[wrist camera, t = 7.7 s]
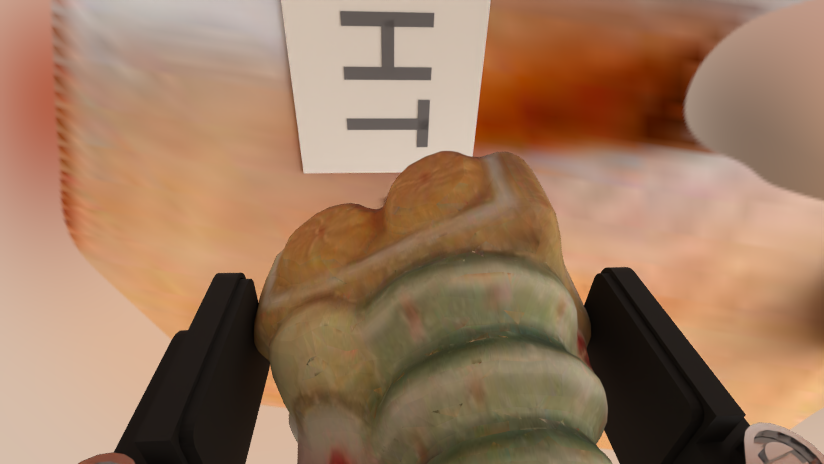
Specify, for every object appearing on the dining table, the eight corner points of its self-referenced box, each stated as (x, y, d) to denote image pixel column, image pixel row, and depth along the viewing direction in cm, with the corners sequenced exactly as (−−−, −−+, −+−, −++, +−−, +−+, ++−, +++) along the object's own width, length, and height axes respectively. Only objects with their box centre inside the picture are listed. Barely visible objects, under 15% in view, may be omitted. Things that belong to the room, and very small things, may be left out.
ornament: (363, 360, 15) (349, 857, 7) (239, 246, 12) (-62, 918, 4) (573, 261, 13) (901, 791, 5) (491, 95, 10) (1027, 804, 2)
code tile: (492, -20, 22) (493, -20, 22) (470, 170, 28) (470, 172, 28) (278, -26, 21) (277, -26, 21) (304, 172, 27) (303, 173, 27)
